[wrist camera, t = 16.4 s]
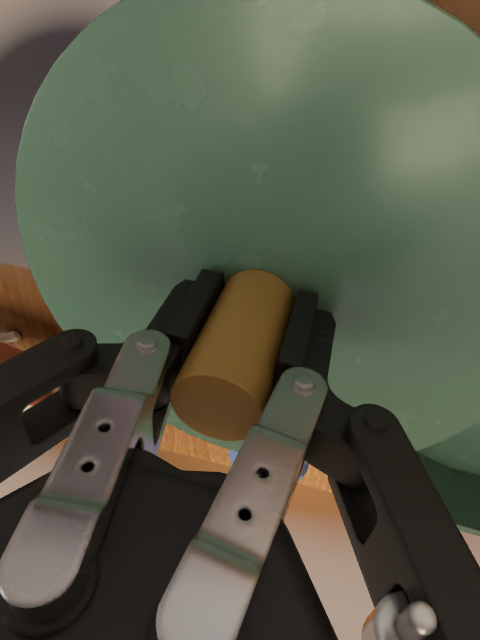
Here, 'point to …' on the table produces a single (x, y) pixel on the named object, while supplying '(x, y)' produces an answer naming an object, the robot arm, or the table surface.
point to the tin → (457, 476)
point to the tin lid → (269, 196)
